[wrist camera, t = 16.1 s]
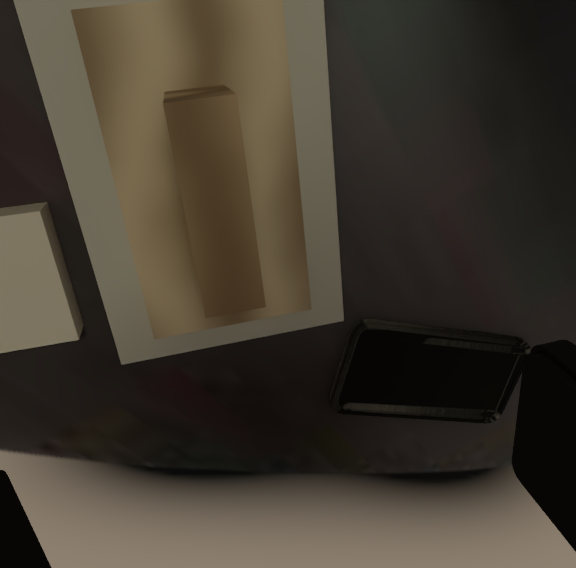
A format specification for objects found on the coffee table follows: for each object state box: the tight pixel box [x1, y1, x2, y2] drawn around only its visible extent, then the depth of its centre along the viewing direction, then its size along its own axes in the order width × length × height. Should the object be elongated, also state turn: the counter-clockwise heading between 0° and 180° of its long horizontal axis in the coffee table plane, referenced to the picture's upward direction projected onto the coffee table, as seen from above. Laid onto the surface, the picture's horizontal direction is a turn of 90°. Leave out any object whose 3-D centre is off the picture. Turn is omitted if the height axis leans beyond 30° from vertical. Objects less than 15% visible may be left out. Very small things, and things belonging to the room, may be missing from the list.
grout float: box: [71, 0, 311, 339], centre depth 26 cm, size 10×18×7 cm, turn 6°
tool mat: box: [14, 0, 344, 365], centre depth 30 cm, size 15×22×1 cm
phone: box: [329, 319, 531, 423], centre depth 39 cm, size 8×1×15 cm
